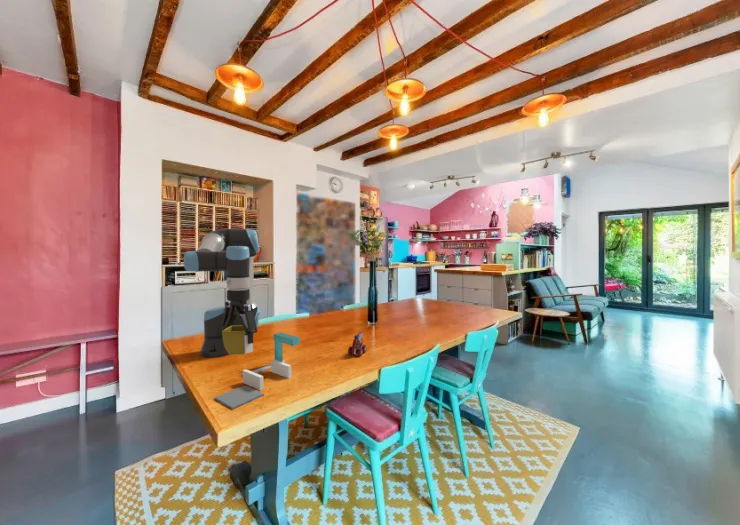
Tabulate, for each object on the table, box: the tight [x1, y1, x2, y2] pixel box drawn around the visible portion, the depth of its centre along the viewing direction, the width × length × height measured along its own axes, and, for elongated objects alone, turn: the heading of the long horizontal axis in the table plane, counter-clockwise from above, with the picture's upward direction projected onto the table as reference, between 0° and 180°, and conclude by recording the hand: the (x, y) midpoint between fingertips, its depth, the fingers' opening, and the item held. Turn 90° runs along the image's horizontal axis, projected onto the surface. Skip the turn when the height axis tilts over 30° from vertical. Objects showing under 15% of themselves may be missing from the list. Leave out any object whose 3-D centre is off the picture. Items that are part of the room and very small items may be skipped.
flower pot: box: [222, 325, 255, 356], centre depth 108 cm, size 9×9×9 cm
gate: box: [273, 331, 301, 362], centre depth 137 cm, size 14×4×14 cm, turn 55°
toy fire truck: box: [347, 331, 367, 357], centre depth 156 cm, size 7×12×10 cm, turn 160°
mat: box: [213, 384, 265, 410], centre depth 109 cm, size 12×12×1 cm
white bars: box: [241, 359, 292, 391], centre depth 129 cm, size 18×24×5 cm
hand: (239, 348), depth 108 cm, fingers closed on flower pot, 12 cm apart
